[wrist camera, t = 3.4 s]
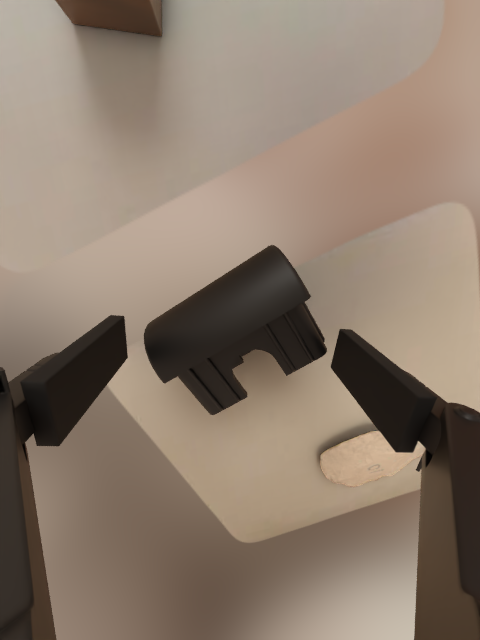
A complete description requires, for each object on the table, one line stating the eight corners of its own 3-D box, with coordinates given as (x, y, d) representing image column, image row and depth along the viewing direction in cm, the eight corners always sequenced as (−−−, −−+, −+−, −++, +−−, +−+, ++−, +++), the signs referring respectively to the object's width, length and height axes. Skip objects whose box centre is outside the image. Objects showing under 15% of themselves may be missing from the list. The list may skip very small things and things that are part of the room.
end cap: (265, 240, 18) (285, 246, 12) (307, 315, 21) (341, 353, 14) (159, 308, 20) (127, 346, 13) (209, 371, 22) (201, 428, 16)
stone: (309, 442, 26) (316, 459, 24) (440, 393, 24) (458, 407, 22) (331, 488, 28) (338, 506, 26) (450, 446, 27) (467, 463, 25)
